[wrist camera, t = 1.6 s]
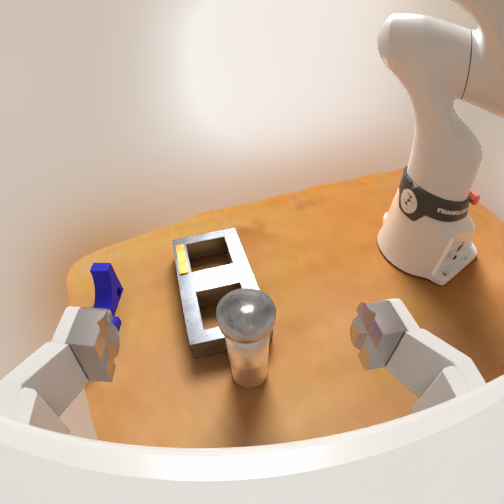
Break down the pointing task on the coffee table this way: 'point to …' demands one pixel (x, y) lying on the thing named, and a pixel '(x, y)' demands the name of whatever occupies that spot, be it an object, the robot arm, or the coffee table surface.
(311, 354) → the coffee table surface
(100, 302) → the cable clip
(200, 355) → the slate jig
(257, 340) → the steel bushing
